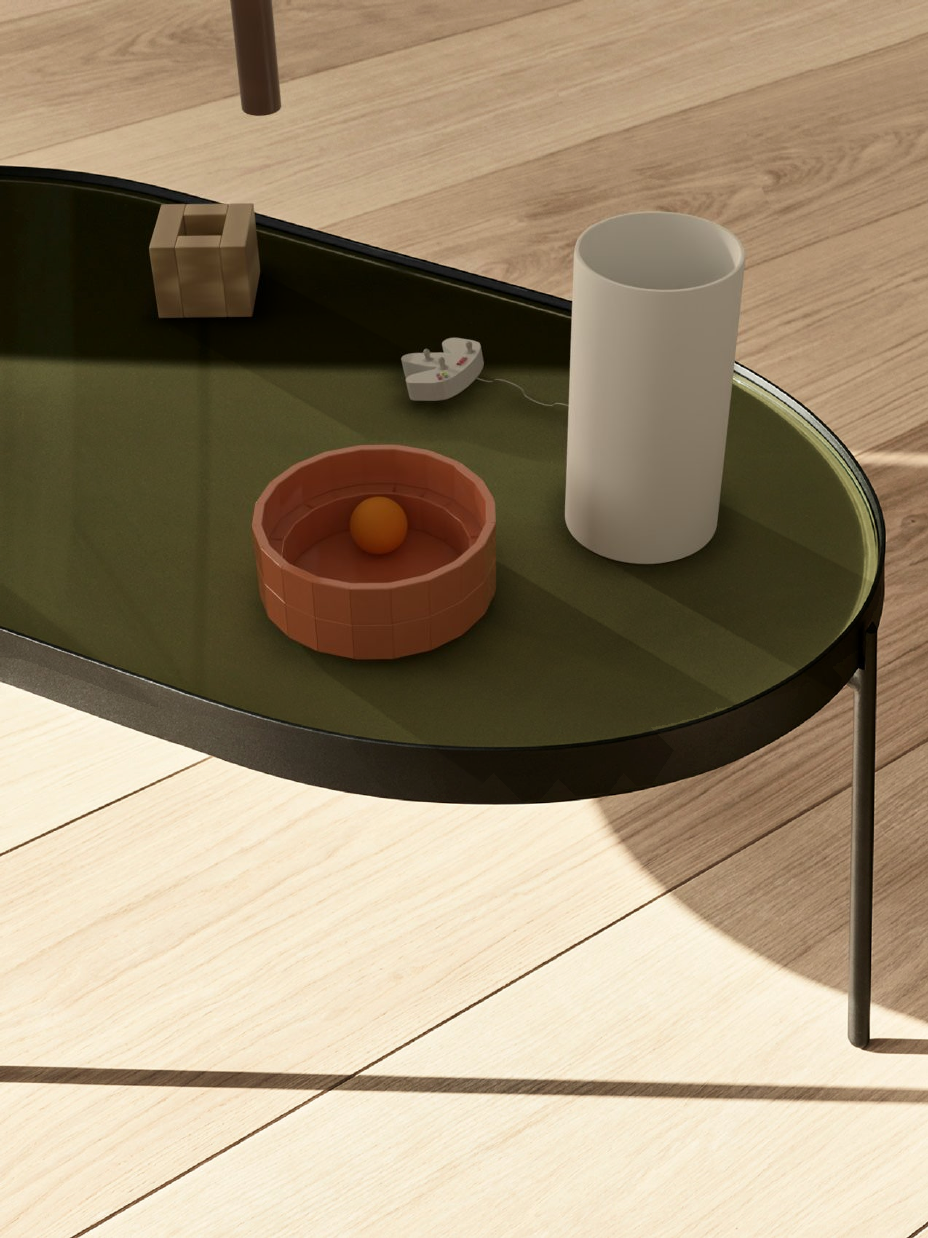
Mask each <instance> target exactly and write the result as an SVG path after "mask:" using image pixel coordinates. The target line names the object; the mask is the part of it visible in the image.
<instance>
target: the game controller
mask: <svg viewBox="0 0 928 1238" xmlns="http://www.w3.org/2000/svg"><path fill="white" fill-rule="evenodd" d="M441 347H442V351H443V352H431V350H430V349H428V348H425V349H424V350H423V352H412V353H407V354H404V355H402V357H401V358H400V360H401V364H402V365H401V366H402V369H403V374H404V377H405V383H406V388H407V393H408V398H409V399H410V400H411V401H422V402H423V401H424V402H425V401H427V402H429V401H431V402H432V401H434V402H435V401H444V400H449V399H451V398H453V397H454V396H457V395H458V394H460V393H462V392H463V391H464V390H465V389H467V388H468V387H469V386H470V385H471V384H472V383H473V382H474V381H475V380H479V381H482V382H485V383H493V381H496V380H497V381H502V382H506V383H509V384H510V385H513V386H515V387H517V388H518V389H520V390H521V392H522V393H523V396H524V397H525V398H527V399H528V400H529V401H532V402H534V403H536V404H540V405H543V406H547V407H553V406H554V405H561V406H562V405H563V406H566V407H569V404H566V403H562V402H555V403H554V404H547V403H542V402H540V401H537V400H535V399H533V398H531V397H530V396H528V395H527V394H526V393H525V390H524V389H523V388H522V387H521V386H519V385H517V384H515V383H514V382H511V381H509V380H506V379H501V378H495V379H494V380H486V379H483V378H479V377H478V376H480V374H481V373H482V370H483V368H484V364H485V361H484V356H483V352H482V346H481V343H480V342H479V341H476V340H473V339H467V338H461V337H449V338H446V339H445V340H443V341H442V342H441Z"/></svg>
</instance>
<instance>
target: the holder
mask: <svg viewBox="0 0 928 1238" xmlns="http://www.w3.org/2000/svg"><path fill="white" fill-rule="evenodd" d="M159 208H160V209H159V212H158V215H157V219H156V223H155V227H154V229H153V233H152V237H151V240H150V243H149V247H148V250H149V257H150V264H151V272H152V279H153V285H154V286H153V287H154V293H155V299H156V306H157V312H158V313H157V314H158V318H159V319H183V318H186V319H187V318H227V317H228V318H252V317H253V314H254V309H255V302H256V298H257V293H258V286H259V280H260V275H261V265H260V256H259V255H260V254H259V245H258V235H257V225H256V216H255V215H256V214H255V203H253V202H251V203H249V202H248V203H247V202H246V203H241V202H240V203H187V204H186V203H178V204H177V203H169V204H168V203H167V204H165V203H163V204H161V205H160V207H159Z"/></svg>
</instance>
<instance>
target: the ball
mask: <svg viewBox="0 0 928 1238" xmlns="http://www.w3.org/2000/svg"><path fill="white" fill-rule="evenodd" d="M407 529H408V523H407V518H406V515H405V513H404V511H403V509H402V508H401V507H400V505H398V504H397V503H396V502H395V501H393V500H391V499H389V498H386V497H371V498H368V499H366V500H364V501H363V502H361V503H360V504H359V505H358V506H357V507H356V508H355V510H354V511H353V513H352V516H351V520H350V531H351V535H352V537H353V539H354V541H355V543H356V544H357V545H358V546H359V547H360V548H361V549H363V550H364V551H366V552H368V553H372V554H386V553H389V552H392V551H393V550H395V549H396V548H398V547H399V546H400V545H401V543H402V542H403V540H404V539H405V536H406V534H407Z"/></svg>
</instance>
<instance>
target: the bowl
mask: <svg viewBox="0 0 928 1238" xmlns="http://www.w3.org/2000/svg"><path fill="white" fill-rule="evenodd" d="M371 497H386V498H389V499H391V500H393V501H395V502H396V503H397V504H398V505H400V507H401V508H402V509H403V511H404V513H405V515H406V518H407V523H408V529H407V534H406V536H405V539H404V540H403V542H402V543H401V545H400V546H399V547H398V548H396V549H395V550H393V551H392V552H389V553H386V554H372V553H368V552H366V551H364V550H363V549H361V548H360V547H359V546H358V545H357V544H356V543H355V541H354V539H353V537H352V535H351V531H350V520H351V516H352V513H353V511H354V510H355V508H356V507H357V506H358V505H359V504H360V503H361V502H363V501H364V500H366V499H368V498H371ZM496 510H497V509H496V500H495V498H494V496H493V495H492V493H491V491H490V489H489V488H488V485H486V483H485V480H484V479H483V478H481V477H480V476H479V475H478V474H476V473H475V472H474V471H472V470H471V469H470V468H469V467H467V466H466V465H465V464H463V463H462V462H461V461H458V460H456V459H453V458H451V457H448V456H446V455H443V454H441V453H438V452H436V451H434V450H430V449H424V448H419V447H413V446H409V445H408V446H407V445H401V444H357V445H352V446H348V447H343V448H338V449H332V450H329V451H328V450H327V451H323V452H321V453H319V454H316V455H314V456H311V457H308V458H306V459H305V460H301V461H299V462H296V463H294V464H292V465H291V466H290V467H288V468H287V469H286V470H284V471H283V472H282V473H281V474H279V475H278V476H276V477H275V478H273V479H272V480H271V481H270V482H269V483H268V484H267V486H266V487H265V489H264V490H263V492H262V493H261V495H260V496H259V497H258V499H257V500H256V502H255V503H254V508H253V516H252V522H251V531H252V538H253V539H252V540H253V549H254V556H255V557H254V558H255V563H256V564H255V565H256V566H255V567H256V575H257V584H258V589H259V590H258V591H259V596H260V597H259V598H260V599H261V602H262V605H263V607H264V609H265V612H266V615H267V617H268V618H269V620H271V622H272V623H273V624H274V625H276V627H277V628H279V630H280V631H282V633H283V634H285V635H286V636H287V638H289V639H291V640H293V641H296V642H297V643H299V644H301V645H303V646H305V647H307V648H310V649H312V650H314V651H315V652H319V653H323V654H328V655H333V656H338V657H343V658H347V659H351V660H394V659H399V658H403V657H409V656H412V655H416V654H421V653H425V652H430V651H433V650H434V649H435V650H436V649H437V648H439V647H441V646H443V645H445V644H447V643H449V642H452V641H453V640H455V639H458V638H460V637H461V636H463V635H464V634H465V633H466V632H467V631H468V630H470V629H471V628H472V627H473V626H474V625H475V624H476V623H477V622H478V621H479V620H480V619H482V617H483V616H484V615H486V614H487V613H486V612H487V611H488V608H489V607H490V604H491V602H492V600H493V599H494V596H495V594H496V591H497V516H496V515H497V514H496V513H497V512H496Z"/></svg>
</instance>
